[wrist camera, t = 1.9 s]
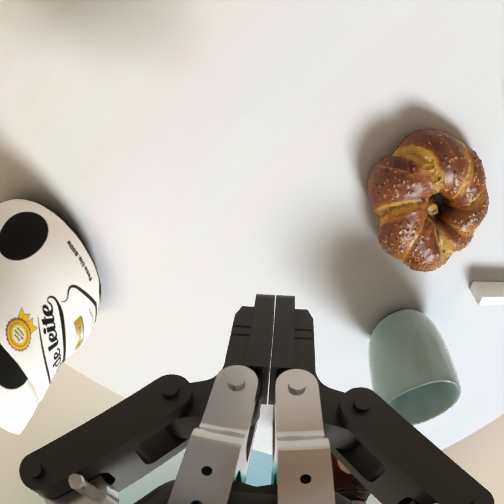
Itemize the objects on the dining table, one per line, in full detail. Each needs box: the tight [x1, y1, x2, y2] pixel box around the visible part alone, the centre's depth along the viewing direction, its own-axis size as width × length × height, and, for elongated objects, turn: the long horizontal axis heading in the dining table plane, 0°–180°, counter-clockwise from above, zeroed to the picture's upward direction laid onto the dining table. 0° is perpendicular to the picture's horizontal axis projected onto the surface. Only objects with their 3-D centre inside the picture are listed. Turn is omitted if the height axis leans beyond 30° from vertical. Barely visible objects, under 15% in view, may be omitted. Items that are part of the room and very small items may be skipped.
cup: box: [369, 309, 461, 426], centre depth 26 cm, size 8×8×10 cm
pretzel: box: [367, 129, 489, 272], centre depth 21 cm, size 12×11×4 cm
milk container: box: [0, 199, 101, 434], centre depth 23 cm, size 17×17×18 cm
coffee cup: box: [331, 453, 371, 504], centre depth 39 cm, size 9×8×13 cm
